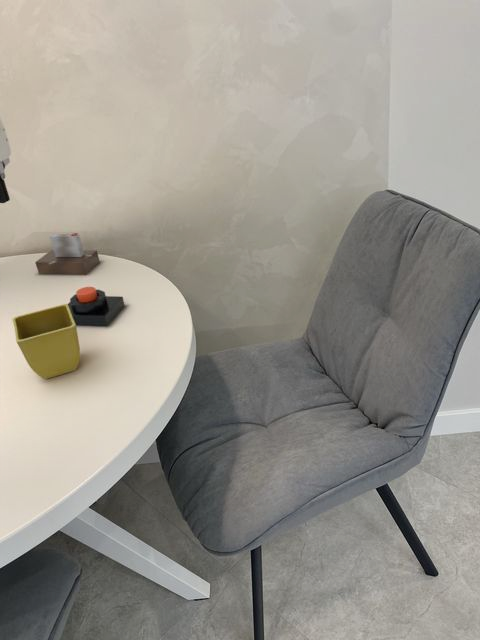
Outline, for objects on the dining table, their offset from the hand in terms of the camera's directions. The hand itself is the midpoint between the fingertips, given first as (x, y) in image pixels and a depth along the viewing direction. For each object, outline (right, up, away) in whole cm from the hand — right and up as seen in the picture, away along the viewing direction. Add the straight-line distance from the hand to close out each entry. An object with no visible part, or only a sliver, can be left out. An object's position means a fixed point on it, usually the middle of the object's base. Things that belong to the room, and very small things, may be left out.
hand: (0, 201), depth 104 cm
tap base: (+5, -9, +23) cm, 25 cm away
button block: (+17, -22, +1) cm, 28 cm away
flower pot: (+17, -32, -14) cm, 38 cm away
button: (+17, -19, -1) cm, 25 cm away
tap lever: (+6, -7, +21) cm, 23 cm away
